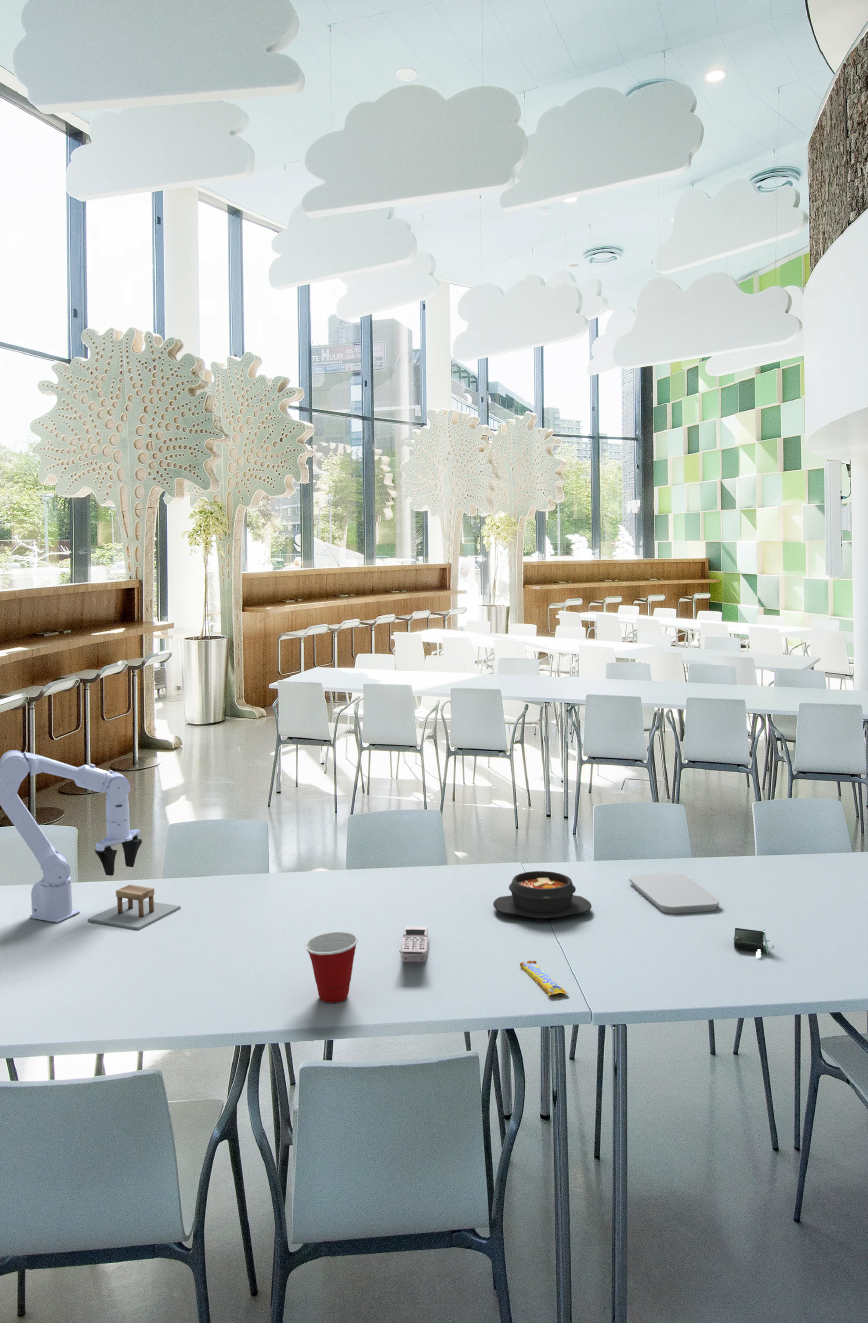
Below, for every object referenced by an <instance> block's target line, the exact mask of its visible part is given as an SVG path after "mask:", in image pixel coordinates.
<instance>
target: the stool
mask: <svg viewBox="0 0 868 1323" xmlns="http://www.w3.org/2000/svg"><path fill="white" fill-rule="evenodd" d="M154 896H155V888H154V887H153V888H152V887H146V886H141V885H140V886H139V885H132V884H127V885H126V886H123V887H121V888H119V889H116V890H115V897H116V901H117V903H116V906H118V914H122V913H123V906H122V903H123V899H127V901H128V909H133V900H138V907H139V918H142V917H144V907H143V900H144V901H145V900H146V899H148V901H149V913H153V912H154V902H155V901H154V899H155V897H154Z"/></svg>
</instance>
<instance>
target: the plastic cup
mask: <svg viewBox="0 0 868 1323" xmlns="http://www.w3.org/2000/svg"><path fill="white" fill-rule="evenodd" d="M358 941H359V937H358V936H357V934H354V933H352V932H348V931H347V932H346V931H330V932H325V933H321V934H318V935H315V936H313V937H311V938H310V939H308V940H307V941H306V942H305V944H304V947H305V950H306V952H307V953H308V955H309V958H310V961H311V965H312V966H311V967H312V970H313V971H312V972H313V974H314V980H315V984H316V986H317V987H316V988H317V993H318V994H317V995H318V997H319V1000H320V999H321V1000H322V1002H323V1001H325V1002H324V1003H326V1002H331V1003H330V1004H335V1003H334V1002H339V1003H341V1002H340V1001H342V1002H344V1001H345V1000H347V999H346V998H348V997H347V996H349V993H350V987H351V986H350V985H351V981H352V976H353V975H352V974H353V973H352V972H353V968H354V965H353V964H354V958H355V955H356V948H357V944H358ZM344 999H345V1000H344ZM321 1000H320V1001H321Z"/></svg>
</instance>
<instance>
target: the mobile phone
mask: <svg viewBox="0 0 868 1323" xmlns="http://www.w3.org/2000/svg"><path fill="white" fill-rule="evenodd" d="M428 948H429V932H428V927H427V926H404V929H403V933H402V942H401V949H400V950H398V952H399V954H400V955H401V961H402V962H403V963H425V962H426V961H427V960H426V959H427V954H428Z"/></svg>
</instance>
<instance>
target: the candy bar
mask: <svg viewBox="0 0 868 1323" xmlns="http://www.w3.org/2000/svg"><path fill="white" fill-rule="evenodd" d="M519 967H520V968H521V969H522V968H523V969H522V970H523V971H524V972H525V973H526V974H527V976H528V977H530V979H532V980H533V981H534V983H536V982H537V983H536V984H537V985H538V984H539V985H538V986H539V987H540V988H541V989H542V990H543V992H545V993H546V995H548V996H553V995H560V994H559V993H562V994H561V995H563V994H565V995H566V994H569V992H567V991H566V990H565V989H564V988H563V987H562V986H561V985H559V984H558V983H557V982H556V981H555V979H553V978H552V977H551V976H550V975H549V974H547V973H546V972H545V971H544V969H542V968H541V967H540V966H539V965H538V964H537V961H536V960H528V961H526V963H525V961H523V962H520V963H519Z"/></svg>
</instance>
